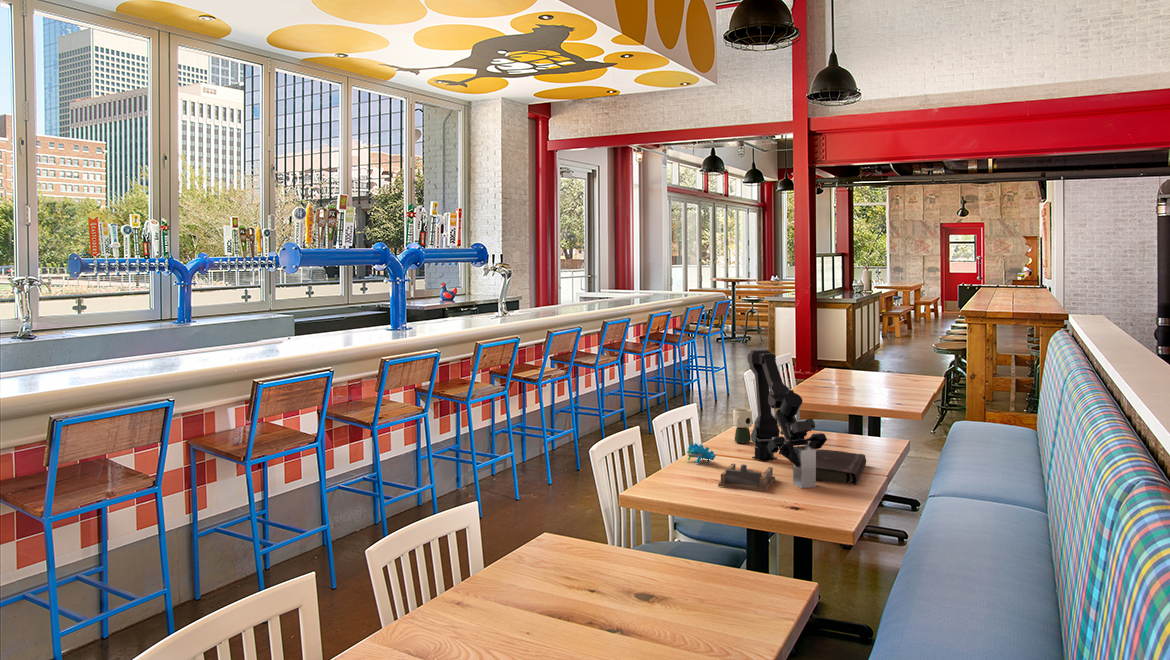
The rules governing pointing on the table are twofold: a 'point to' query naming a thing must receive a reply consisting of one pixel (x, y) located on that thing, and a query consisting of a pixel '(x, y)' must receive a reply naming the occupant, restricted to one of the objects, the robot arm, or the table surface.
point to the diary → (838, 466)
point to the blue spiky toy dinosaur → (700, 452)
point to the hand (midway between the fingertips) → (806, 466)
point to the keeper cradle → (746, 478)
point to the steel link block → (805, 467)
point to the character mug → (742, 424)
